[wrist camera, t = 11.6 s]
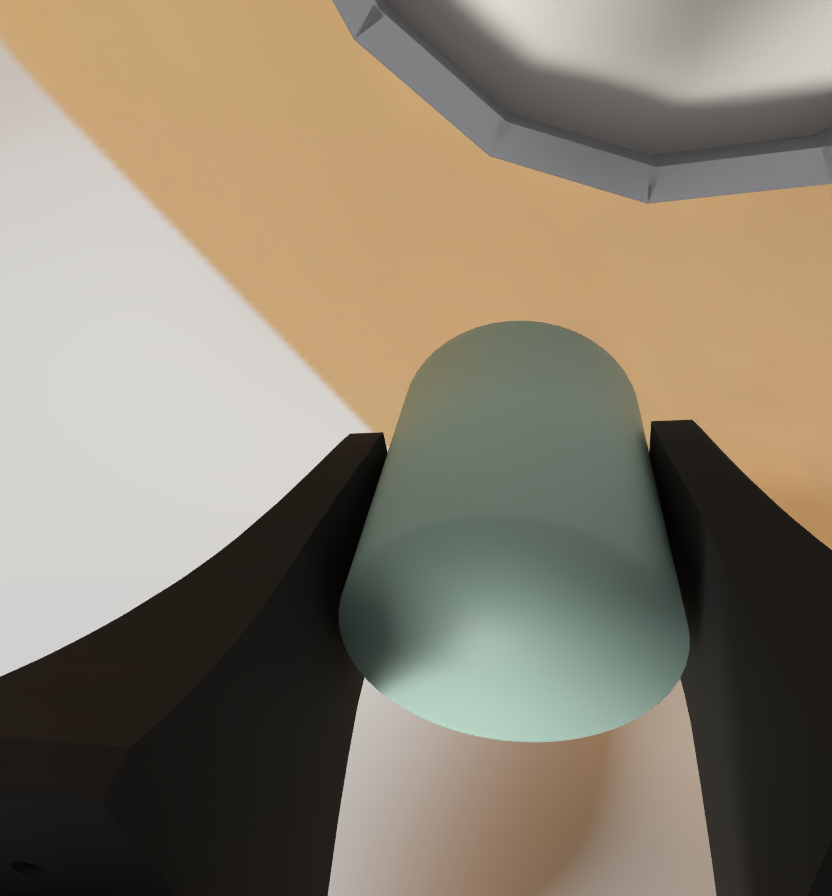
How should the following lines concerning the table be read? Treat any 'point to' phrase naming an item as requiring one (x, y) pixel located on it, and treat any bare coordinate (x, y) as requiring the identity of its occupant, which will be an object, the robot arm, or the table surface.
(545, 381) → the mint green cylinder
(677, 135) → the groove tray
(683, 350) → the table surface
